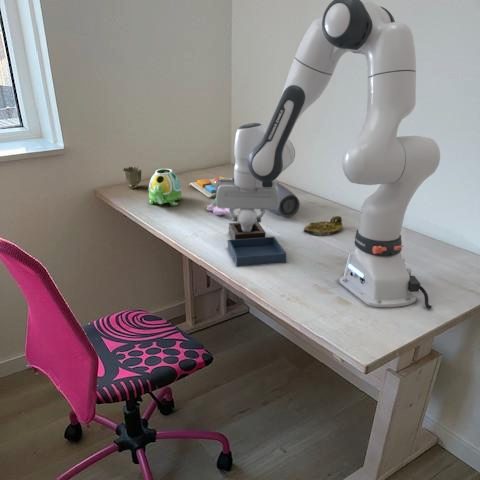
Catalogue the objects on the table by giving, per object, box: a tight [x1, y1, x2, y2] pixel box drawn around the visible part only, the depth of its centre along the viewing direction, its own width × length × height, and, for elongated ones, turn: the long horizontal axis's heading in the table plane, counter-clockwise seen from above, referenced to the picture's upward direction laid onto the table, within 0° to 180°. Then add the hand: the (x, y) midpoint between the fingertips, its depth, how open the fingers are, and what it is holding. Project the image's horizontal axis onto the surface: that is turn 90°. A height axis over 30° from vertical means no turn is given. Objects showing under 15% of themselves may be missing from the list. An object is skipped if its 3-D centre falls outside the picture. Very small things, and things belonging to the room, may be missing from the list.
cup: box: [122, 166, 142, 190], centre depth 208 cm, size 8×7×8 cm
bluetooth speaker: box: [270, 181, 301, 218], centre depth 188 cm, size 23×9×10 cm, turn 22°
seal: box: [303, 215, 344, 236], centre depth 173 cm, size 9×5×15 cm
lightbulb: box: [236, 209, 258, 232], centre depth 164 cm, size 6×6×11 cm
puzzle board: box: [188, 175, 227, 199], centre depth 209 cm, size 18×19×4 cm
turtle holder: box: [148, 168, 182, 207], centre depth 191 cm, size 12×18×12 cm
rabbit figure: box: [205, 197, 231, 216], centre depth 184 cm, size 6×6×15 cm
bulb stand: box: [228, 220, 266, 240], centre depth 166 cm, size 10×10×4 cm
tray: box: [227, 236, 287, 267], centre depth 155 cm, size 13×15×3 cm
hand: (247, 221), depth 163 cm, fingers closed on lightbulb, 6 cm apart
